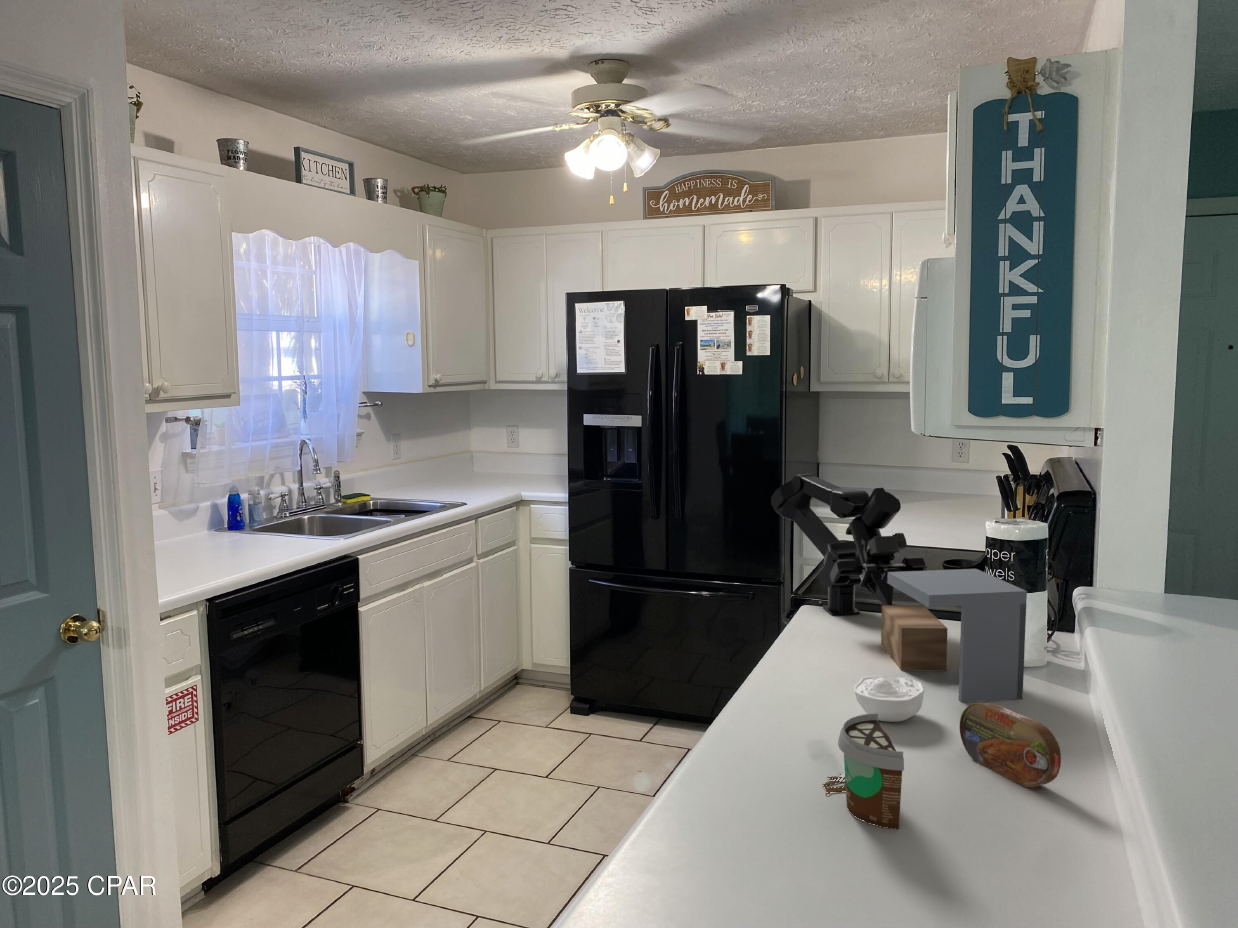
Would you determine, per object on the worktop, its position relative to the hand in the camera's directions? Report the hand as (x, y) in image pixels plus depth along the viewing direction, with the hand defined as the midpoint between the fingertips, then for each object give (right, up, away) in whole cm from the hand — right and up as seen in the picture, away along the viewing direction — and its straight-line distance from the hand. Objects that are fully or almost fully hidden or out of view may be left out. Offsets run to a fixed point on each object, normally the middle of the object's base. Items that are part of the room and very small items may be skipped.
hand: (889, 606), depth 175 cm
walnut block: (+1, -8, -10) cm, 13 cm away
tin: (-1, -13, -57) cm, 58 cm away
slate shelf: (+3, -9, -24) cm, 26 cm away
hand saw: (-25, -13, -51) cm, 58 cm away
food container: (-24, -15, -66) cm, 72 cm away
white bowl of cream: (-12, -11, -38) cm, 41 cm away
